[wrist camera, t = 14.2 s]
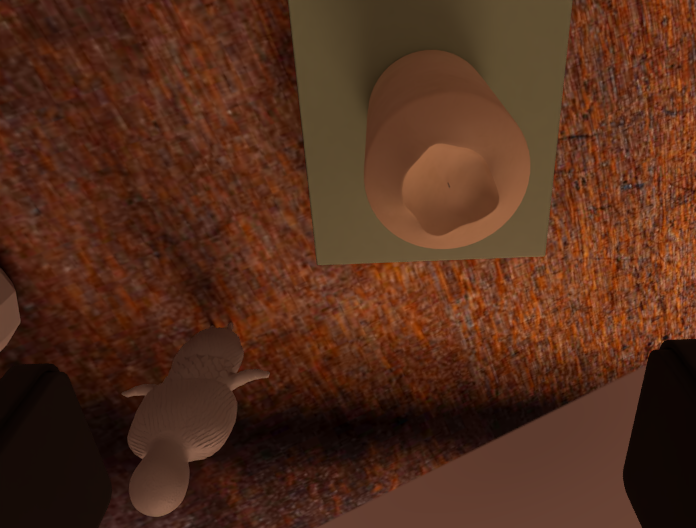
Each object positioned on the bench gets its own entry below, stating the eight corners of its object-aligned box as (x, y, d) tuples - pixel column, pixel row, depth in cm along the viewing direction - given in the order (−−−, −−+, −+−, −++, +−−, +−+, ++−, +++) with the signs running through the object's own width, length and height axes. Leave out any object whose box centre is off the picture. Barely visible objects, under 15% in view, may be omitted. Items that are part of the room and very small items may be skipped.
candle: (508, 72, 26) (575, 140, 17) (457, 182, 28) (493, 289, 20) (392, 29, 25) (400, 77, 16) (351, 146, 28) (339, 240, 19)
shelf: (296, -77, 29) (278, -81, 23) (545, -98, 28) (584, -106, 22) (325, 218, 36) (316, 265, 31) (520, 210, 35) (545, 256, 30)
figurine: (170, 358, 42) (77, 545, 29) (150, 314, 40) (41, 493, 27) (294, 340, 41) (255, 527, 28) (279, 293, 39) (230, 471, 26)
